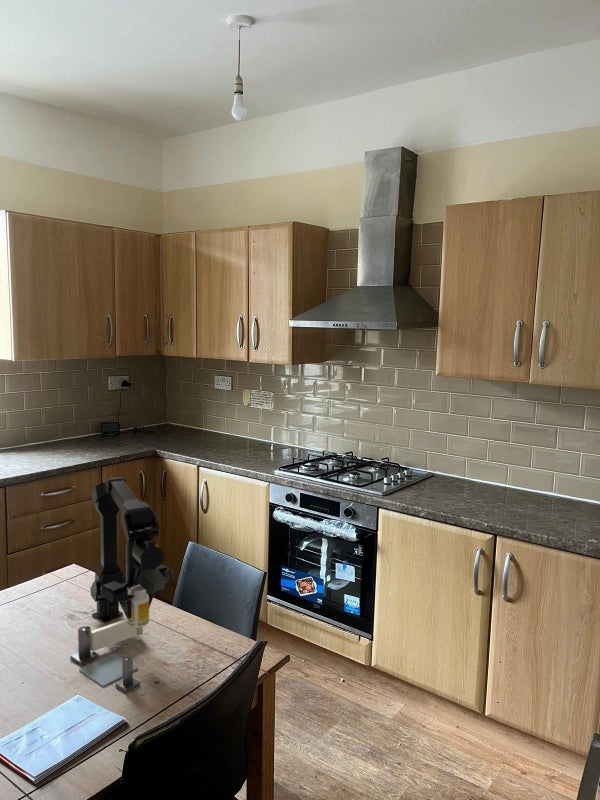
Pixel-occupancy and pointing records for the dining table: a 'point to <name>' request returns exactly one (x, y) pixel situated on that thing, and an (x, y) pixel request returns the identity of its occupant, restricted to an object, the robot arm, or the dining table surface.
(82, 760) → the dining table surface
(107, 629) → the gate
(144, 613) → the supplement bottle
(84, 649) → the gate posts
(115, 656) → the doorway mat
